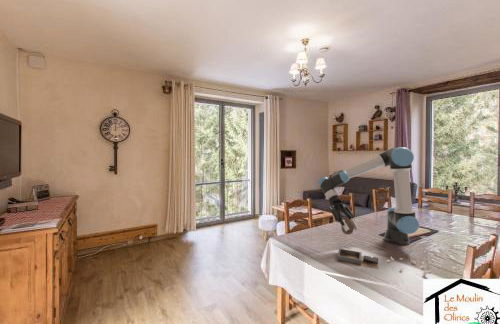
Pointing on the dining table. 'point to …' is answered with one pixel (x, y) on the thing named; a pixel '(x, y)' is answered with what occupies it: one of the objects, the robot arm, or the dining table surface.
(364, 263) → the flange board
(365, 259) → the grey tray board
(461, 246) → the dining table surface
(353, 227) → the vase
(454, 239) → the dining table surface
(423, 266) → the game piece set
